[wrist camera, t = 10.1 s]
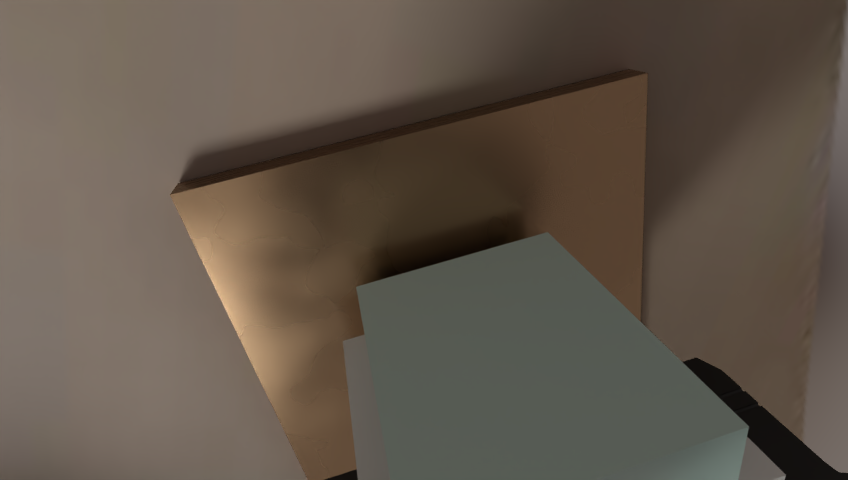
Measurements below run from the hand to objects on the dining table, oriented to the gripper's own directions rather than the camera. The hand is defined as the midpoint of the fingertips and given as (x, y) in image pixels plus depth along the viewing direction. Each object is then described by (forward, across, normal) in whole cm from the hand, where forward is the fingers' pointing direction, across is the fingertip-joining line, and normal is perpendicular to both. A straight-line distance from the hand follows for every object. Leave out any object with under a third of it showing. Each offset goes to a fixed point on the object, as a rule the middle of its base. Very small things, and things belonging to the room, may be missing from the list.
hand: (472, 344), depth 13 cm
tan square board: (+2, 0, 0) cm, 2 cm away
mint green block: (0, 0, 0) cm, 0 cm away
